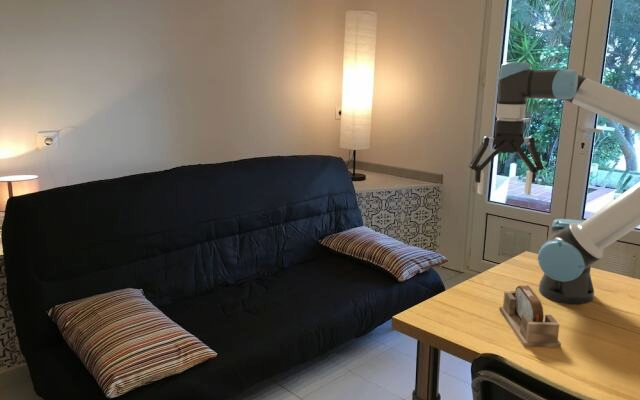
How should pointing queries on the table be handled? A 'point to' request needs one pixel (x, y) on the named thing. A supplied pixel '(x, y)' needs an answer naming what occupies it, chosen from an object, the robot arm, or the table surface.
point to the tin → (528, 303)
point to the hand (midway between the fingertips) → (503, 193)
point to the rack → (530, 325)
